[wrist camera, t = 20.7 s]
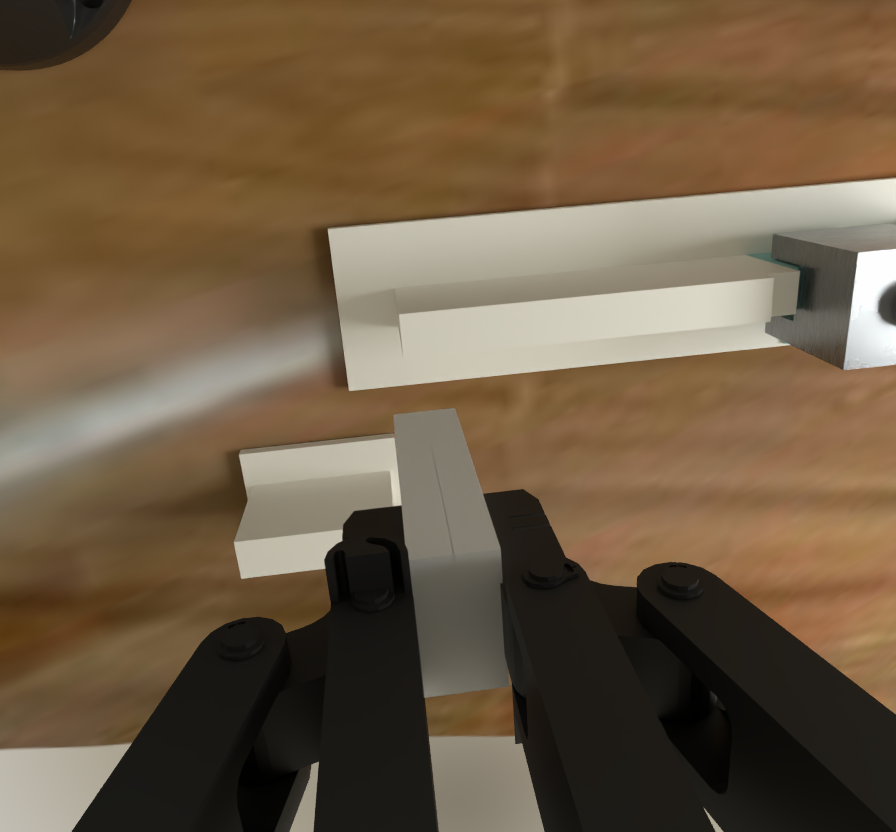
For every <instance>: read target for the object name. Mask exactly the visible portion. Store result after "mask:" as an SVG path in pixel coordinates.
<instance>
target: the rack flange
mask: <svg viewBox="0 0 896 832" xmlns="http://www.w3.org/2000/svg"><path fill="white" fill-rule="evenodd" d="M883 223H887V224H894V225H896V177H892V178H881V179H870V180H859V181H847V182H836V183H825V184H814V185H802V186H791V187H780V188H769V189H757V190H746V191H735V192H724V193H713V194H701V195H690V196H679V197H668V198H656V199H645V200H634V201H623V202H611V203H600V204H589V205H578V206H566V207H555V208H544V209H533V210H521V211H510V212H499V213H488V214H476V215H465V216H454V217H443V218H431V219H420V220H409V221H398V222H386V223H375V224H364V225H353V226H341V227H330V228H328V235H329V243H330V250H331V258H332V266H333V273H334V281H335V288H336V296H337V303H338V311H339V318H340V326H341V334H342V341H343V349H344V356H345V364H346V371H347V379H348V387H349V391H354V390H364V389H373V388H383V387H393V386H402V385H412V384H421V383H431V382H440V381H450V380H460V379H469V378H479V377H488V376H498V375H508V374H517V373H527V372H536V371H546V370H555V369H565V368H575V367H584V366H594V365H603V364H613V363H622V362H632V361H642V360H651V359H661V358H670V357H680V356H689V355H699V354H709V353H718V352H728V351H737V350H747V349H756V348H766V347H776V346H785V345H790V344H788V343H786V342H784V341H781V340H779V339H777V338H775V337H773V336H771V335H769V334H767V333H765V324H766V322H771V317H773V316H783V315H793V314H796V307H797V297H798V287H799V277H800V271H798V269H799V265H795V264H792V263H788V262H785V261H781V260H778V259H774V258H771V252H772V240H773V234H775V233H786V232H797V231H808V230H819V229H829V228H840V227H851V226H862V225H873V224H883Z"/></svg>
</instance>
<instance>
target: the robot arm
mask: <svg viewBox="0 0 896 832" xmlns="http://www.w3.org/2000/svg"><path fill="white" fill-rule="evenodd" d="M130 2H131V0H0V69H5V70H33V69H41V68H46V67H51V66H55V65H58V64H62V63H64V62H67V61H69V60H72V59H74V58H76V57H78V56H80V55H82V54H83V53H85V52H87V51H88V50H90V49H91V48H93V47H94V46H95V45H97V44H98V43H99V42H100V41H101V40H102V39H104V38H105V37H106V36H107V35H108V34H109V33H110V32H111V30H112V29H113V28H114V27H115V26H116V24H117V23H118V22H119V21H120V19H121V18H122V16H123V15H124V13H125V12H126V10H127V8H128V6H129V4H130ZM393 417H394V428H395V439H396V450H397V461H398V472H399V483H400V494H401V505H400V506H391V507H383V508H374V509H366V510H357V511H354V512H353V513H352V514H351V515H350V517H349V518H348V519H347V520H346V521H345V523H344V524H343V533H342V541H341V542H339V543H337V544H336V545H335V546H334V547H332V548H331V549H330V550H329V551H328V552H327V555H326V557H325V559H324V563H325V569H326V576H327V582H328V588H329V594H330V600H331V610H330V611H329V612H328V613H327V614H326V615H325V616H324V617H322V618H321V619H319V620H317V621H316V622H314V623H312V624H310V625H307V626H305V627H303V628H300V629H297V630H294V631H291V632H288V633H285V631H284V628H283V626H282V625H281V624H279V623H278V622H276V621H274V620H273V619H268V618H262V617H252V618H242V619H239V620H236V621H232V622H230V623H227V624H225V625H223V626H221V627H219V628H218V629H216V630H214V631H213V632H211V633H210V634H209V635H208V636H207V637H206V638H205V639H204V640H203V641H202V642H201V643H200V645H199V646H198V648H197V649H196V651H195V652H194V654H193V655H192V657H191V658H190V659H189V661H188V662H187V664H186V665H185V667H184V668H183V670H182V671H181V673H180V674H179V676H178V677H177V678H176V680H175V681H174V683H173V684H172V686H171V687H170V689H169V690H168V692H167V693H166V695H165V696H164V697H163V699H162V700H161V702H160V703H159V705H158V706H157V708H156V709H155V711H154V712H153V714H152V715H151V716H150V718H149V719H148V721H147V722H146V724H145V725H144V727H143V728H142V730H141V731H140V733H139V734H138V735H137V737H136V738H135V740H134V741H133V743H132V744H131V746H130V747H129V749H128V750H127V751H126V753H125V754H124V756H123V757H122V759H121V760H120V762H119V763H118V765H117V766H116V768H115V769H114V770H113V772H112V773H111V775H110V776H109V778H108V779H107V781H106V782H105V784H104V785H103V787H102V788H101V789H100V791H99V792H98V794H97V795H96V797H95V799H94V800H93V801H92V803H91V804H90V806H89V807H88V808H87V810H86V811H85V813H84V814H83V816H82V817H81V819H80V820H79V822H78V823H77V825H76V826H75V828H74V829H73V830H72V832H289V831H290V828H291V826H292V823H293V821H294V818H295V815H296V812H297V810H298V807H299V804H300V802H301V799H302V796H303V794H304V791H305V789H306V786H307V783H308V781H309V778H310V770H311V764H313V763H316V762H318V761H319V768H318V782H317V794H316V807H315V820H314V832H439V830H438V820H437V810H436V801H435V791H434V783H433V772H432V763H431V754H430V745H429V734H428V725H427V716H426V707H425V698H427V697H434V696H441V695H449V694H456V693H463V692H471V691H478V690H485V689H493V688H500V687H508V686H509V678H508V670H509V673H510V677H511V681H512V692H513V709H514V727H515V744H519V743H522V744H523V748H524V752H525V756H526V759H527V764H528V768H529V771H530V775H531V780H532V783H533V787H534V791H535V796H536V800H537V804H538V808H539V811H540V815H541V819H542V823H543V827H544V831H545V832H715V830H714V828H713V826H712V824H711V822H710V820H709V818H708V816H707V814H706V812H705V810H704V808H705V809H706V811H707V812H708V813H709V814H710V816H711V817H712V818H713V819H714V820H715V822H716V823H717V824H718V825H719V827H721V829H722V830H723V831H724V832H896V714H894V713H893V712H892V711H890V710H889V709H888V708H886V707H885V706H884V705H883V704H881V703H880V702H879V701H877V700H876V699H875V698H874V697H872V696H871V695H870V694H868V693H867V692H866V691H865V690H863V689H862V688H861V687H859V686H858V685H857V684H855V683H854V682H853V681H852V680H850V679H849V678H848V677H846V676H845V675H844V674H843V673H841V672H840V671H839V670H837V669H836V668H835V667H833V666H832V665H831V664H830V663H828V662H827V661H826V660H824V659H823V658H822V657H821V656H819V655H818V654H817V653H815V652H814V651H813V650H811V649H810V648H809V647H808V646H806V645H805V644H804V643H802V642H801V641H800V640H799V639H797V638H796V637H795V636H793V635H792V634H791V633H789V632H788V631H787V630H786V629H784V628H783V627H782V626H780V625H779V624H778V623H777V622H775V621H774V620H773V619H771V618H770V617H769V616H767V615H766V614H765V613H764V612H762V611H761V610H760V609H758V608H757V607H756V606H755V605H753V604H752V603H751V602H749V601H748V600H747V599H745V598H744V597H743V596H742V595H740V594H739V593H738V592H736V591H735V590H734V589H733V588H731V587H730V586H729V585H727V584H726V583H725V582H723V581H722V580H721V579H720V578H718V577H717V576H716V575H714V574H712V573H711V572H709V571H707V570H705V569H703V568H701V567H698V566H694V565H691V564H687V563H680V562H678V563H676V562H668V563H661V564H655V565H653V566H651V567H648V568H646V569H644V570H643V571H642V572H641V573H640V575H639V576H638V577H637V587H624V586H612V585H606V584H600V583H597V582H594V581H590V580H589V578H588V576H587V574H586V572H585V571H584V570H583V568H582V567H581V566H580V565H579V564H578V563H576V562H574V561H572V560H570V559H568V558H566V557H565V555H564V552H563V550H562V548H561V546H560V544H559V542H558V540H557V538H556V536H555V534H554V531H553V529H552V527H551V526H550V524H549V521H548V519H547V517H546V515H545V513H544V510H543V508H542V506H541V504H540V502H539V500H538V499H537V498H535V497H534V496H532V495H531V494H529V493H528V492H526V491H525V490H523V489H521V490H512V491H504V492H495V493H487V494H483V493H482V490H481V487H480V484H479V481H478V477H477V474H476V471H475V468H474V465H473V462H472V459H471V456H470V453H469V450H468V447H467V444H466V441H465V438H464V434H463V431H462V428H461V425H460V422H459V419H458V416H457V413H456V410H455V408H450V409H441V410H432V411H422V412H413V413H404V414H395V415H393ZM703 807H704V808H703Z"/></svg>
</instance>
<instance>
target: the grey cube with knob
mask: <svg viewBox="0 0 896 832" xmlns="http://www.w3.org/2000/svg"><path fill="white" fill-rule="evenodd" d="M771 258H774V259H778V260H781V261H785V262H788V263H792V264H795V265H799V269H798V271H800V277H799V287H798V297H797V307H796V314H793V315H783V316H773V317H771V322H766V324H765V333H767V334H769V335H771V336H773V337H775V338H777V339H779V340H781V341H784V342H786V343H788V344H790V345H792V346H794V347H796V348H798V349H800V350H802V351H805V352H807V353H809V354H811V355H813V356H815V357H817V358H819V359H821V360H823V361H825V362H828V363H830V364H832V365H834V366H836V367H838V368H840V369H842V370H849V369H859V368H868V367H877V366H887V365H896V225H894V224H887V223H883V224H873V225H862V226H851V227H840V228H829V229H819V230H808V231H797V232H786V233H775V234H773V240H772V252H771Z"/></svg>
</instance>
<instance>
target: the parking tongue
mask: <svg viewBox="0 0 896 832" xmlns="http://www.w3.org/2000/svg"><path fill="white" fill-rule="evenodd" d="M239 458H240V463H241V468H242V473H243V478H244V483H245V488H246V493H247V498H248V502H247V505H246V508H245V511H244V514H243V517H242V520H241V523H240V526H239V529H238V531H237V534H236V537H235V540H234V545H235V550H236V555H237V560H238V565H239V569H240V574H241V579H243V578H251V577H259V576H267V575H276V574H284V573H292V572H300V571H309V570H317V569H325V563H324V559H325V557H326V555H327V552H328V551H329V550H330V549H331V548H332V547H334V546H335V545H336V544H337V543H339V542H341V541H342V533H343V524H344V523H345V521H346V520H347V519H348V518H349V517H350V515H351V514H352V513H353V512H354V511H357V510H366V509H374V508H383V507H391V506H400V505H401V494H400V484H399V475H398V466H397V457H396V448H395V439H394V433H390V434H381V435H372V436H363V437H354V438H345V439H335V440H326V441H317V442H308V443H299V444H289V445H280V446H271V447H262V448H253V449H244V450H241V451H240V453H239Z"/></svg>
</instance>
